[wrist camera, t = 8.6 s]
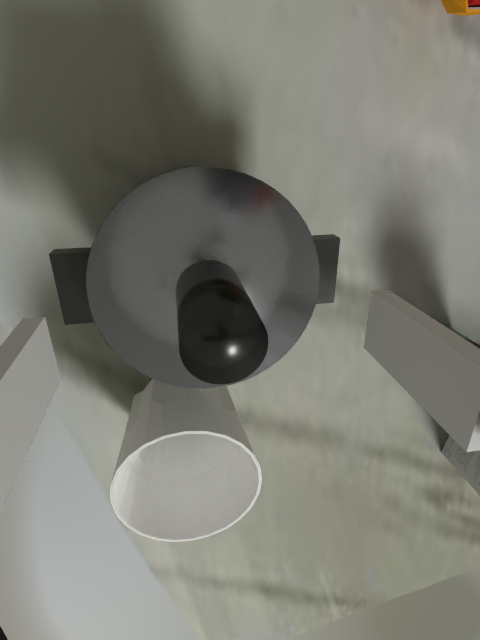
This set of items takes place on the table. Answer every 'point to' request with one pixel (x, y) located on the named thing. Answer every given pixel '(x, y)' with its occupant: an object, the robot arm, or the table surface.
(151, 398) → the cup
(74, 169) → the table surface
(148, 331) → the lid
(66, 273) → the pot
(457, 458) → the light bulb box
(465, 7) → the potion bottle
